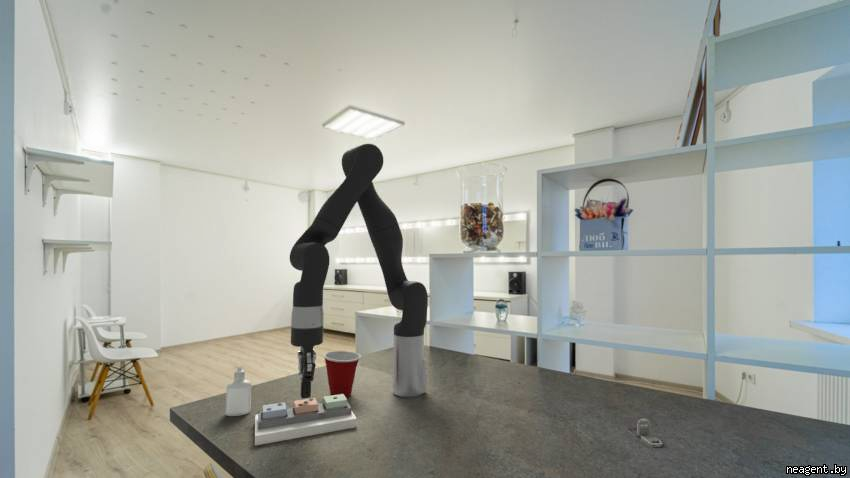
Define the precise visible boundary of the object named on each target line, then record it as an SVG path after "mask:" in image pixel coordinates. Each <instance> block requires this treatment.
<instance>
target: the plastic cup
mask: <svg viewBox="0 0 850 478" xmlns="http://www.w3.org/2000/svg"><path fill="white" fill-rule="evenodd" d="M361 357H362V356H361V354H360V353H357V352H354V351H350V350H349V351H348V350H335V351H334V350H333V351H327V352H326V353H324V354H323V358H324V361H325V362H324V363H325V367H326V374H327V382H328V387H329V396H332V395H339V394H344V396H345V397H346V399H347V398H349V397H352V396H351V395H352V390H353V385H354V383H355V382H354V381H355V375H356V371H357V367H358V364H359V360H360V359H361Z"/></svg>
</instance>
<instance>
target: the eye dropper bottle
mask: <svg viewBox="0 0 850 478" xmlns="http://www.w3.org/2000/svg"><path fill="white" fill-rule="evenodd" d="M242 367H243V366H241V365H239V366H237V370H235V371H234V372H233V374H234V375H233V381H230V382H229V383H228V384H227V386H226V395H225V396H226V398H225V415H226V416H228V417H239V416H244V415H248V414H249V413H250V412H251V408H252V407H251V406H252V405H251V404H252V403H251V401H252V382H251V381H250V380H249V379H245V377H246V371H245V370H243V368H242Z"/></svg>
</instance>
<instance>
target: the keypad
mask: <svg viewBox="0 0 850 478" xmlns="http://www.w3.org/2000/svg"><path fill="white" fill-rule="evenodd" d="M317 403H318V411H312V412H305V413H299V414H295V410H294V406H292V407H286V408H287V413H286V416H280V417H273V418H267V419H263V411H259V412H258V414H255V417H254V418H255V419H254V421H255V423H254V446H260V445H266V444H271V443H277V442H283V441H287V440H293V439H299V438H304V437H309V436H315V435H316V436H317V435H321V434H325V433H326V434H327V433H331V432H336V431H338V432H339V431H342V430H348V429H353V428H357V427H358V426H357V425H358V424H357V422H358V421H357V419H358V418H357V417H356V415H355V414H354V412H353V410H352V407H351V405H350V403H349V402H348V401H347V406H344V407H337V408H331V409H326V407H325V405H324V403H323V402H317Z"/></svg>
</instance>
